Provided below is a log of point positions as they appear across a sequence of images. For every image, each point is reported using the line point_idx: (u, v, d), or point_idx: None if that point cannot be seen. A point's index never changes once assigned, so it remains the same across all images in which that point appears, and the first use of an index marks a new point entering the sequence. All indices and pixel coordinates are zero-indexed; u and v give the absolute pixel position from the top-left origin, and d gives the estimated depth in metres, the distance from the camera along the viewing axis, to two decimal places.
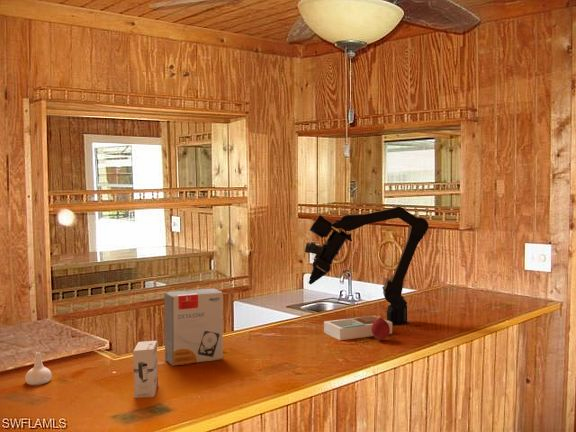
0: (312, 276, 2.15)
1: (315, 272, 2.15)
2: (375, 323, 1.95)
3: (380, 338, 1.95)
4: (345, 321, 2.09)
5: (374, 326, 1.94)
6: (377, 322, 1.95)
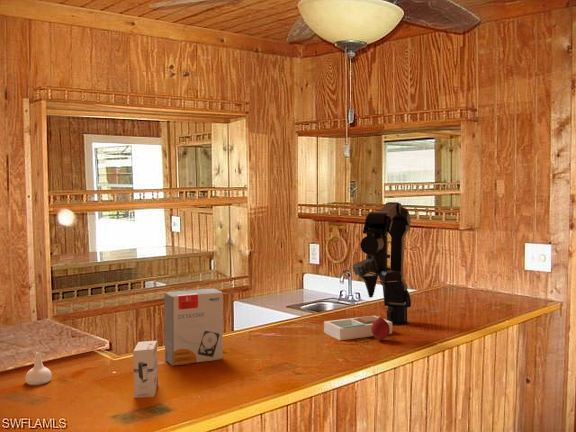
0: (386, 293, 1.91)
1: (387, 288, 1.90)
2: (375, 323, 1.95)
3: (380, 338, 1.95)
4: (345, 321, 2.09)
5: (374, 326, 1.94)
6: (377, 322, 1.95)
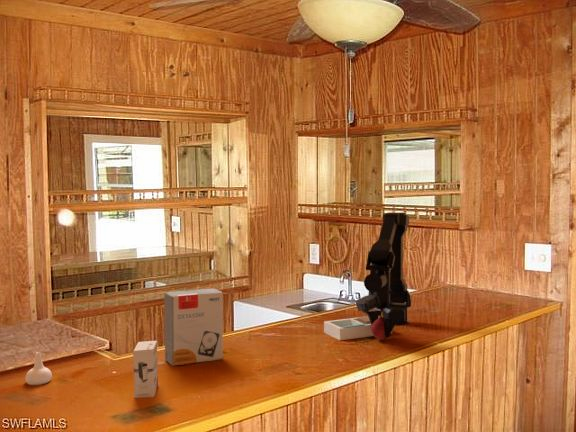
0: (387, 329, 1.92)
1: (388, 323, 1.92)
2: (375, 323, 1.95)
3: (380, 338, 1.95)
4: (345, 321, 2.09)
5: (374, 326, 1.94)
6: (377, 322, 1.95)
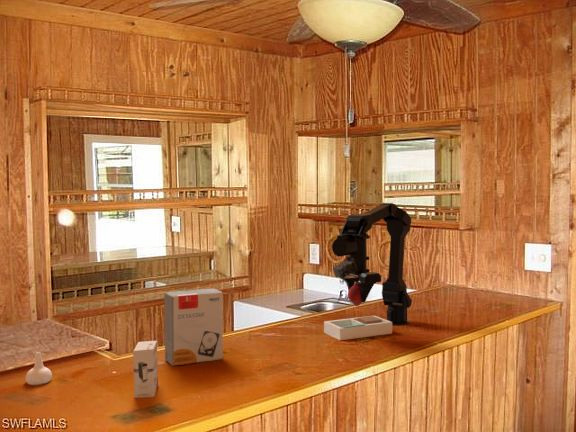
0: (363, 294, 1.97)
1: (364, 288, 1.96)
2: (351, 289, 1.99)
3: (357, 303, 1.99)
4: (345, 321, 2.09)
5: (350, 292, 1.99)
6: (353, 288, 1.99)
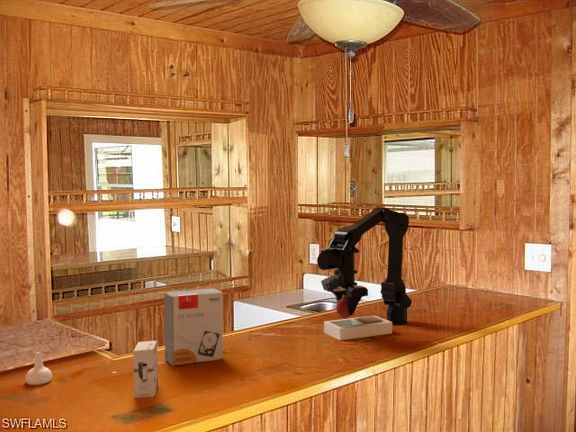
0: (350, 307, 2.00)
1: (351, 302, 1.99)
2: (339, 302, 2.02)
3: (344, 316, 2.02)
4: (345, 321, 2.09)
5: (338, 305, 2.02)
6: (341, 301, 2.02)
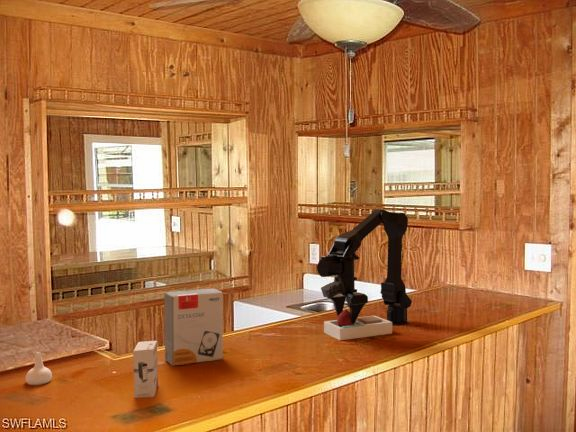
0: (353, 315, 1.98)
1: (353, 309, 1.98)
2: (341, 315, 2.02)
3: None
4: None
5: (340, 318, 2.01)
6: (342, 314, 2.01)
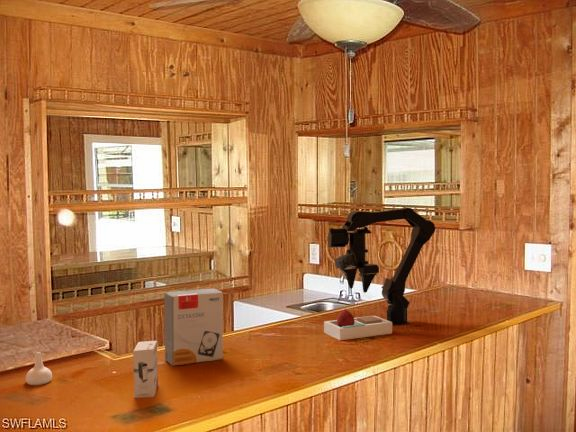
0: (365, 284, 2.11)
1: (365, 279, 2.11)
2: (340, 315, 2.02)
3: None
4: None
5: (339, 318, 2.02)
6: (342, 314, 2.02)
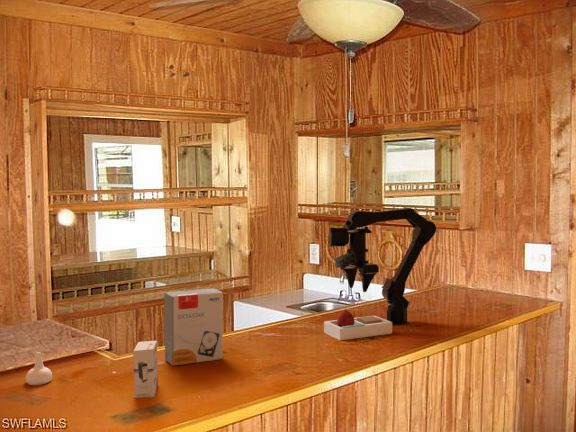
0: (364, 284, 2.11)
1: (365, 279, 2.11)
2: (340, 315, 2.02)
3: None
4: None
5: (339, 318, 2.02)
6: (342, 314, 2.02)
